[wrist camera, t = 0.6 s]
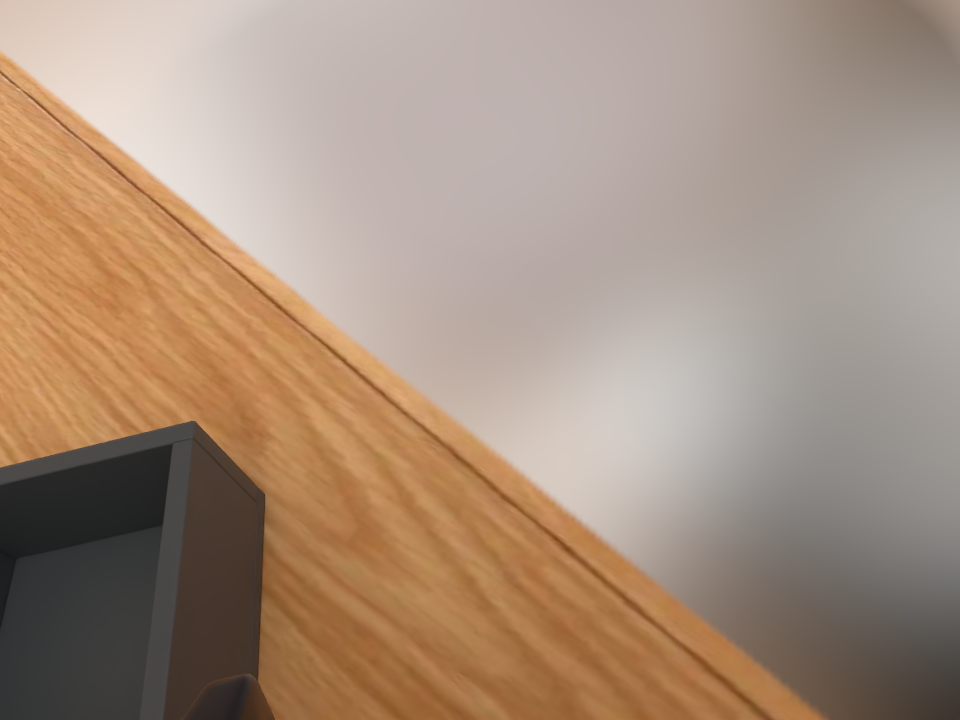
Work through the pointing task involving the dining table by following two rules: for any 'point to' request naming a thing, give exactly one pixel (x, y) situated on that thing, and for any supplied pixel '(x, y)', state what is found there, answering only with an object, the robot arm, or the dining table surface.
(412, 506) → the dining table surface
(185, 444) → the grid
